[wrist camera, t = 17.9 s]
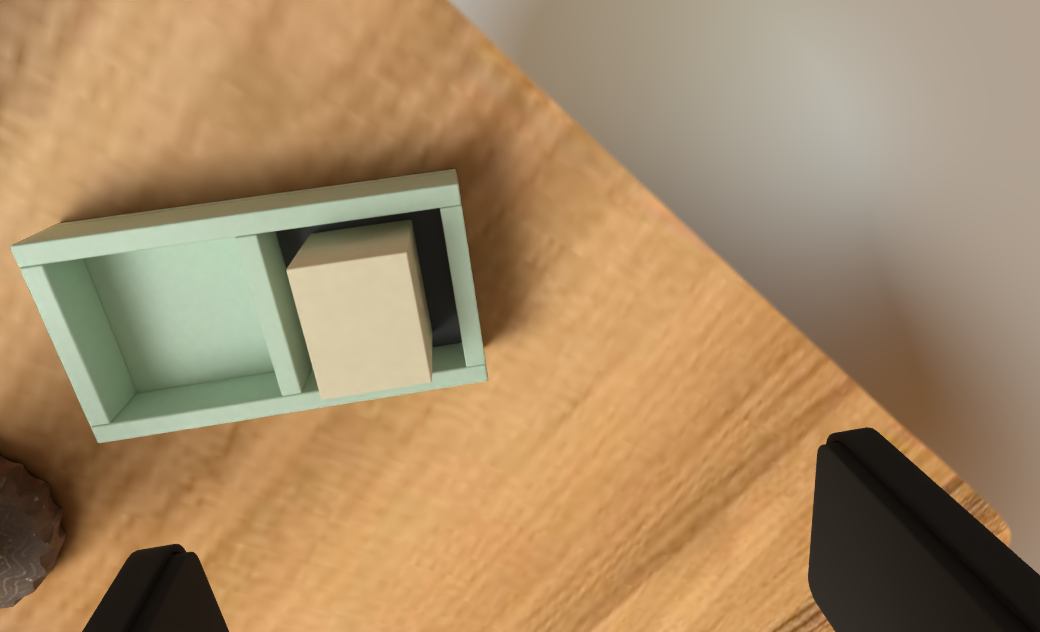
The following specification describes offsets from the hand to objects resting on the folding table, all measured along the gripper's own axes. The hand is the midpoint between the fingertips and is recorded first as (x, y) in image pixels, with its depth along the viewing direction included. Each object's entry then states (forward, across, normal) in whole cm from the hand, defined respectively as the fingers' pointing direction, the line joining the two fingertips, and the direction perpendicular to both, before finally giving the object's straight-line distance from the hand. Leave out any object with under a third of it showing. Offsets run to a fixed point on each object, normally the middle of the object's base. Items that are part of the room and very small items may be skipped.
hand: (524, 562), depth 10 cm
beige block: (+18, +4, +1) cm, 18 cm away
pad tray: (+19, +8, +1) cm, 20 cm away
